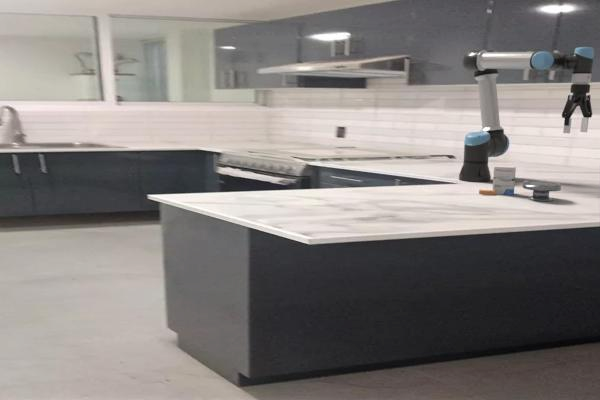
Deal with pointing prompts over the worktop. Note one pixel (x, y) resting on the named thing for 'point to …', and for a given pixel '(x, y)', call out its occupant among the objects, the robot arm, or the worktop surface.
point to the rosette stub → (541, 190)
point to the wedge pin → (486, 192)
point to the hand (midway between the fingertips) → (575, 132)
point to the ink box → (504, 180)
